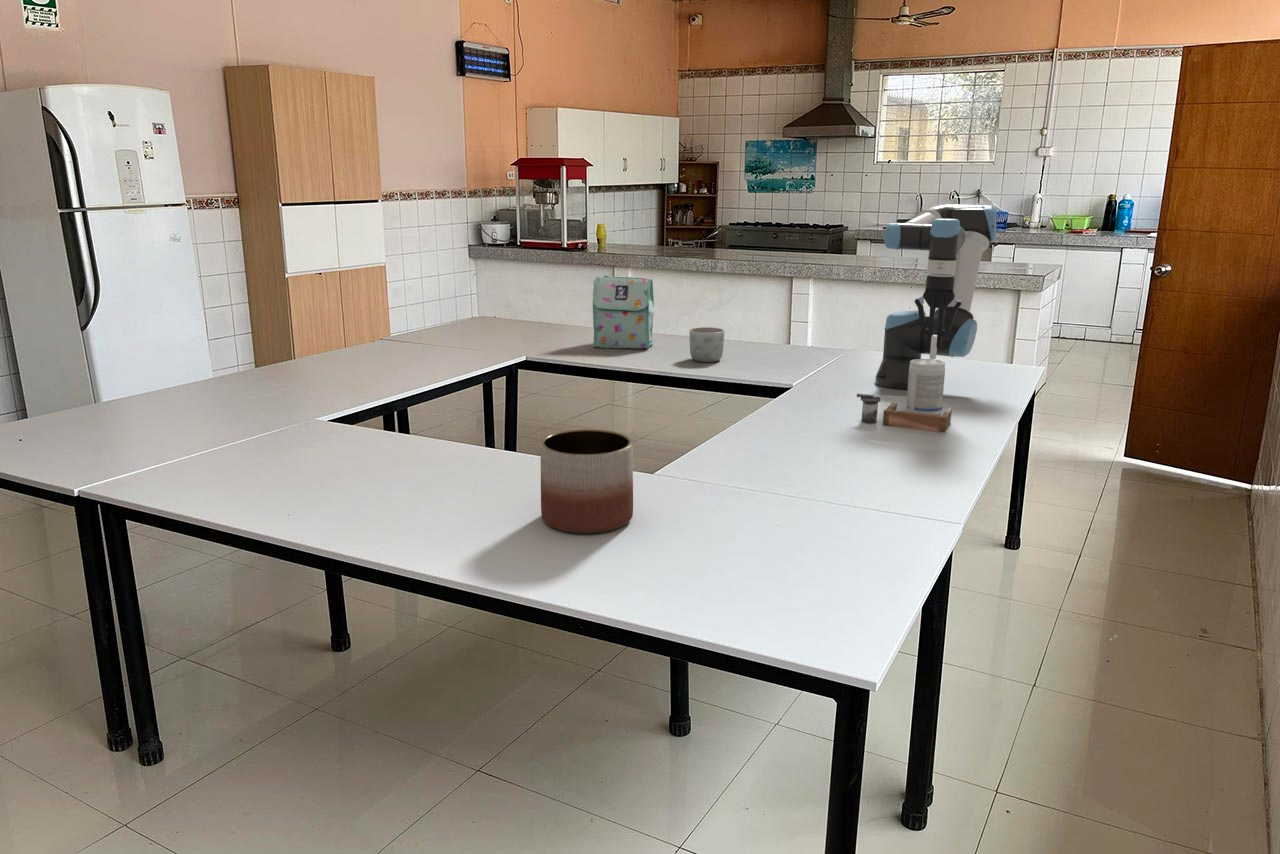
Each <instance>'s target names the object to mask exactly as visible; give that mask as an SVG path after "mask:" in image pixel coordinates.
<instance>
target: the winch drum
mask: <svg viewBox="0 0 1280 854" xmlns="http://www.w3.org/2000/svg"><path fill="white" fill-rule="evenodd" d="M856 398H860V401H861V402H862V408H861V410H862V411H861V419H860V422H861V423H863V424H869V425H870V424H871V425H872V424H877V421H878V419H877V418H878V411H879V409H878V407H879V403H880V402H881V401H882V400H881V399H882V398H881V397H880V396H875V394H868V393H867V394H866V393H856Z"/></svg>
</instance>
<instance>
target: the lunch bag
mask: <svg viewBox="0 0 1280 854" xmlns="http://www.w3.org/2000/svg"><path fill="white" fill-rule="evenodd" d="M654 299H655V298H654V283H653V278H648V277H647V278H646V277H638V276H637V277H636V276H635V277H634V276H611V275H609V276H608V275H605V274H604V275H603V276H595V280H593V290H592V323H593V324H592V326H593V343H592V344H593V345H592V347H593V348H594V347H596V348H598V347H601V348H600V349H628V348H629V350H630V349H632V350H633V349H636V350H637V349H639V350H640V349H642V350H643V349H646V348H647V349H649V348H650V346H651V345H654V342H653V328H654V327H653V326H654V325H653V323H654V315H655V314H654V313H655V310H654V305H655V302H654V301H655V300H654Z"/></svg>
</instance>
